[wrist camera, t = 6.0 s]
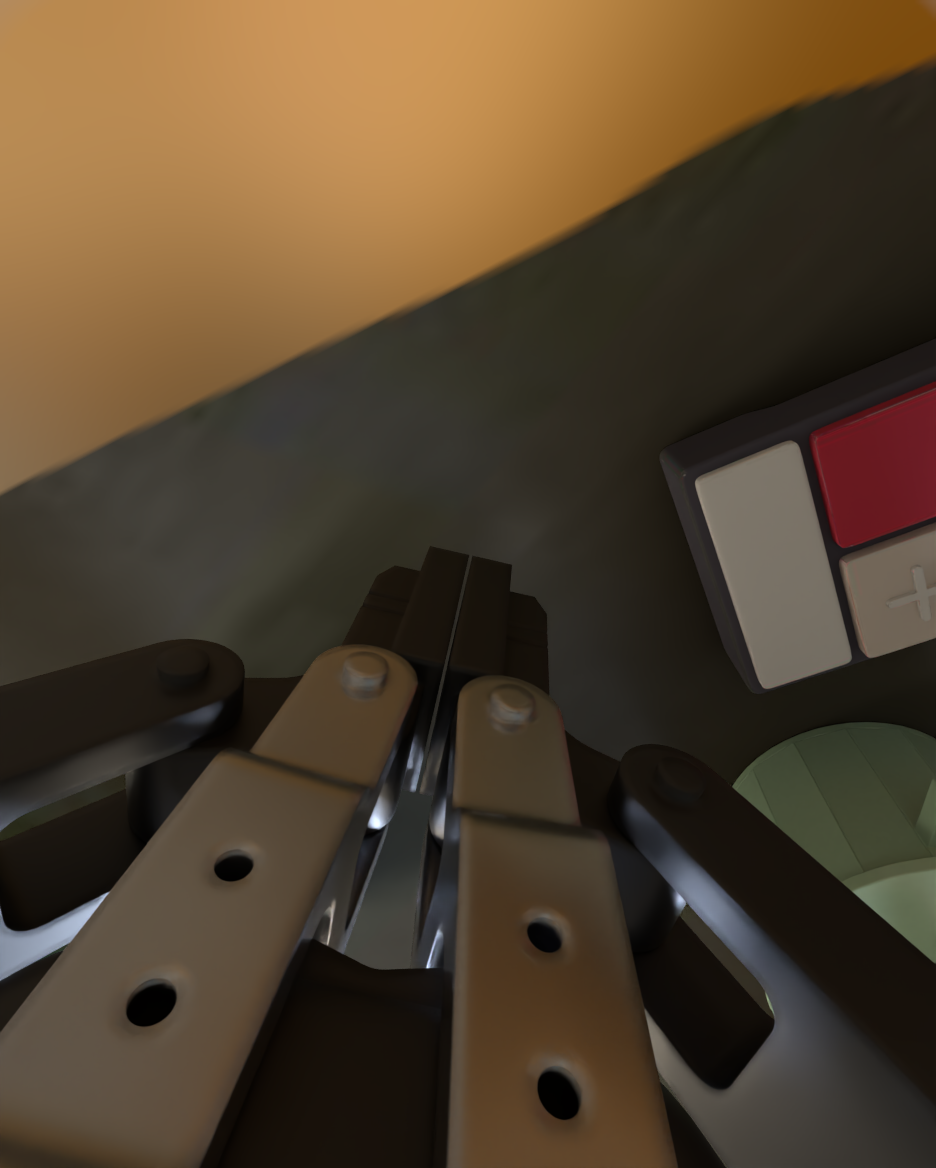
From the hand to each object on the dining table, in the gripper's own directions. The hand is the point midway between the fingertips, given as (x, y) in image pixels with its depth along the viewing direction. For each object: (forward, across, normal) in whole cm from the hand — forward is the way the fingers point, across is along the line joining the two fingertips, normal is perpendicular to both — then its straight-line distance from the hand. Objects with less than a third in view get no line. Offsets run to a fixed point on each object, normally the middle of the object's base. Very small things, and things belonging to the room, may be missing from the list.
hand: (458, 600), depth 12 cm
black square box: (+17, -16, 0) cm, 23 cm away
